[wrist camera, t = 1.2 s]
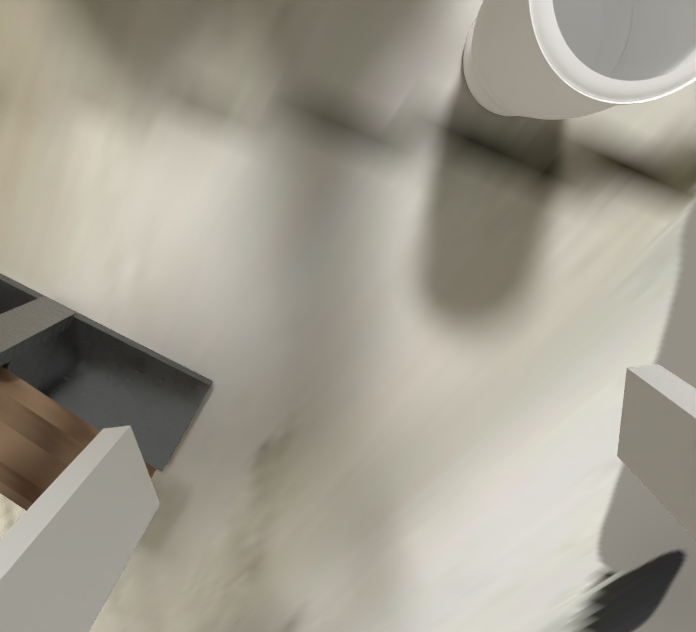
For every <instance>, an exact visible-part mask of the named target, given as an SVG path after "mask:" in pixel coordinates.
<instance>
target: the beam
mask: <svg viewBox="0 0 696 632" xmlns="http://www.w3.org/2000/svg"><path fill="white" fill-rule="evenodd" d="M99 433H100V431H98V430H97V429H95V428H94V427H92V426H91V425H89V424H88V423H86V422H85V421H83V420H82V419H80V418H79V417H77V416H76V415H74V414H73V413H71V412H70V411H68V410H67V409H65V408H64V407H62V406H61V405H59V404H58V403H56V402H55V401H53V400H52V399H50V398H49V397H47V396H46V395H45V394H43V393H42V392H40V391H39V390H37V389H36V388H34V387H33V386H31V385H30V384H28V383H27V382H25V381H24V380H22V379H21V378H19V377H18V376H16V375H15V374H13V373H12V372H10V371H9V370H7V369H6V368H4V367H3V366H0V493H1V494H3V495H4V496H6V497H7V498H8V499H10V500H11V501H13V502H14V503H16V504H17V505H19V506H20V507H22V508H23V509H25V510H26V511H27V510H28V509H29V508H30V506H31V505H32V504H33V503H34V502H35V501H36V500H37V499H38V498H39V497H40V496H41V495H42V494H43V493H44V492H45V490H46V489H47V488H48V487H49V486H50V485H51V484H52V483H53V482H54V481H55V480H56V479H57V478H58V477H59V475H60V474H61V473H62V472H63V471H64V470H65V469H66V468H67V467H68V466H69V465H70V464H71V463H72V462H73V460H74V459H75V458H76V457H77V456H78V455H79V454H80V453H81V452H82V451H83V450H84V449H85V448H86V447H87V446H88V444H89V443H90V442H91V441H92V440H93V439H94V438H95V437H96V436H97V435H98V434H99ZM144 462H145V461H144ZM145 465H146V468H147V470H148V473H149V476H150V478H152V476H153V474H154V472H155V470H156V469H155V468H154V467H152V466H151V465H149V464H148V463H146V462H145Z"/></svg>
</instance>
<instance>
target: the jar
mask: <svg viewBox="0 0 696 632" xmlns="http://www.w3.org/2000/svg"><path fill="white" fill-rule="evenodd" d="M463 66H464V74H465V79H466V82H467V85H468V88H469V90H470V92H471V93H472V95H473V97H474V98H475V99H476V101H477V102H478V103H479V104H480V105H481V106H483V107H484V108H485V109H487V110H489V111H490V112H492V113H495V114H498V115H502V116H523V117H531V118H536V119H545V120H560V119H570V118H576V117H581V116H586V115H589V114H593V113H596V112H599V111H602V110H605V109H608V108H610V107H613V106H615V105H628V104H635V103H640V102H646V101H650V100H654V99H658V98H661V97H664V96H666V95H669V94H671V93H673V92H676V91H678V90H680V89H682V88H684V87H685V86H687V85H689V84H691V83H692V82H694V81H695V80H696V0H483V3H482V5H481V7H480V10H479V13H478V16H477V18H476V19H475V21H474V23H473V25H472V27H471V29H470V31H469V34H468V37H467V40H466V44H465V49H464V57H463Z"/></svg>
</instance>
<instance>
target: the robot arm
mask: <svg viewBox="0 0 696 632" xmlns="http://www.w3.org/2000/svg"><path fill="white" fill-rule="evenodd" d="M617 456H618V457H619V458H620V459H621V460H622V462H623V463H624V464H625V465H626V466H627V467H628V468H629V469H630V470H631V471H632V472H633V474H634V475H636V477H637V478H638V479H639V480H640V481H641V482H642V483H643V484H644V486H645V487H646V488H647V489H648V490H649V491H650V492H651V493H652V494H653V495H654V496H655V497H656V499H657V500H658V501H659V502H660V503H661V504H662V505H663V506H664V507H665V508H666V509H667V511H668V512H669V513H670V514H671V515H672V516H673V517H674V518H675V519H676V520H677V522H678V523H679V524H680V525H681V526H682V527H683V528H684V529H685V530H686V531H687V532H688V533H689V535H690V536H691V537H692V538H693V539H694V540H695V541H696V389H695V388H694V387H692V386H691V385H689V384H688V383H686V382H685V381H683V380H681V379H680V378H678V377H677V376H675V375H674V374H672V373H671V372H669V371H667V370H666V369H664V368H663V367H661V366H660V365H658V364H655V365H647V366H638V367H629V368H627V372H626V381H625V390H624V399H623V408H622V417H621V426H620V435H619V444H618V453H617ZM159 505H160V502H159V499H158V497H157V494H156V491H155V489H154V486H153V484H152V481H151V478H150V476H149V473H148V470H147V468H146V465H145V462H144V460H143V457H142V455H141V452H140V449H139V447H138V444H137V441H136V439H135V436H134V434H133V431H132V428H131V426H121V427H113V428H104V429H102V431H101V432H100V433H99V434H98V435H97V436H96V437H95V438H94V439H93V440H92V441H91V442H90V443H89V444H88V446H87V447H86V448H85V449H84V450H83V451H82V452H81V453H80V454H79V455H78V456H77V457H76V458H75V459H74V460H73V462H72V463H71V464H70V465H69V466H68V467H67V468H66V469H65V470H64V471H63V472H62V473H61V474H60V475H59V477H58V478H57V479H56V480H55V481H54V482H53V483H52V484H51V485H50V486H49V487H48V488H47V489H46V490H45V492H44V493H43V494H42V495H41V496H40V497H39V498H38V499H37V500H36V501H35V502H34V503H33V504H32V505H31V506H30V508H29V509H28V510H27V511H26V512H25V513H24V514H23V515H22V516H21V517H20V518H19V519H18V520H17V521H16V523H15V524H14V525H13V526H12V527H11V528H10V529H9V530H8V531H7V532H6V533H5V534H4V535H3V536H2V538H1V539H0V632H89V630H90V628H91V627H92V625H93V623H94V621H95V620H96V618H97V616H98V614H99V612H100V611H101V609H102V607H103V605H104V603H105V602H106V600H107V598H108V596H109V595H110V593H111V591H112V589H113V587H114V586H115V584H116V582H117V580H118V578H119V577H120V575H121V573H122V571H123V570H124V568H125V566H126V564H127V562H128V561H129V559H130V557H131V555H132V553H133V552H134V550H135V548H136V546H137V544H138V543H139V541H140V539H141V537H142V536H143V534H144V532H145V530H146V528H147V527H148V525H149V523H150V521H151V519H152V518H153V516H154V514H155V512H156V511H157V509H158V507H159Z"/></svg>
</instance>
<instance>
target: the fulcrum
mask: <svg viewBox="0 0 696 632" xmlns="http://www.w3.org/2000/svg"><path fill="white" fill-rule="evenodd" d="M0 366H3V367H4V368H6V369H7V370H9V371H10V372H12V373H13V374H15V375H16V376H18V377H19V378H21V379H22V380H24V381H25V382H27V383H28V384H30V385H31V386H33V387H34V388H36V389H37V390H39V391H40V392H42V393H43V394H45V395H46V396H47V397H49V398H50V399H52V400H53V401H55V402H56V403H58V404H59V405H61V406H62V407H64V408H65V409H67V410H68V411H70V412H71V413H73V414H74V415H76V416H77V417H79V418H80V419H82V420H83V421H85V422H86V423H88V424H89V425H91V426H92V427H94V428H95V429H97V430H98V431H100V432H101V431H102V429H104V428H113V427H121V426H131V428H132V431H133V434H134V436H135V439H136V441H137V444H138V447H139V449H140V452H141V455H142V457H143V460H144V461H145V462H146V463H148V464H149V465H151V466H152V467H154V468H156V469H158V470H160V471H162V470H163V469H164V467H165V465H166V463H167V462H168V460H169V458H170V456H171V455H172V453H173V451H174V449H175V447H176V446H177V444H178V442H179V440H180V438H181V437H182V435H183V433H184V431H185V430H186V428H187V426H188V424H189V422H190V421H191V419H192V417H193V415H194V413H195V412H196V410H197V408H198V406H199V405H200V403H201V401H202V399H203V397H204V396H205V394H206V392H207V390H208V389H209V387H210V385H211V383H212V381H211V380H209V379H207V378H205V377H203V376H201V375H199V374H197V373H195V372H193V371H191V370H189V369H187V368H185V367H183V366H181V365H179V364H177V363H175V362H173V361H171V360H169V359H167V358H166V357H164V356H162V355H160V354H158V353H156V352H154V351H152V350H150V349H148V348H146V347H144V346H142V345H140V344H138V343H136V342H134V341H132V340H130V339H128V338H126V337H124V336H122V335H120V334H118V333H116V332H114V331H112V330H110V329H108V328H106V327H105V326H103V325H101V324H99V323H97V322H95V321H93V320H91V319H89V318H87V317H85V316H83V315H81V314H79V313H77V312H75V311H73V310H71V309H69V308H67V307H65V306H63V305H61V304H59V303H57V302H55V301H53V300H51V299H49V298H47V297H46V296H44V295H42V294H40V293H38V292H36V291H34V290H32V289H30V288H28V287H26V286H24V285H22V284H20V283H18V282H16V281H14V280H12V279H10V278H8V277H6V276H4V275H2V274H0Z"/></svg>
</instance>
